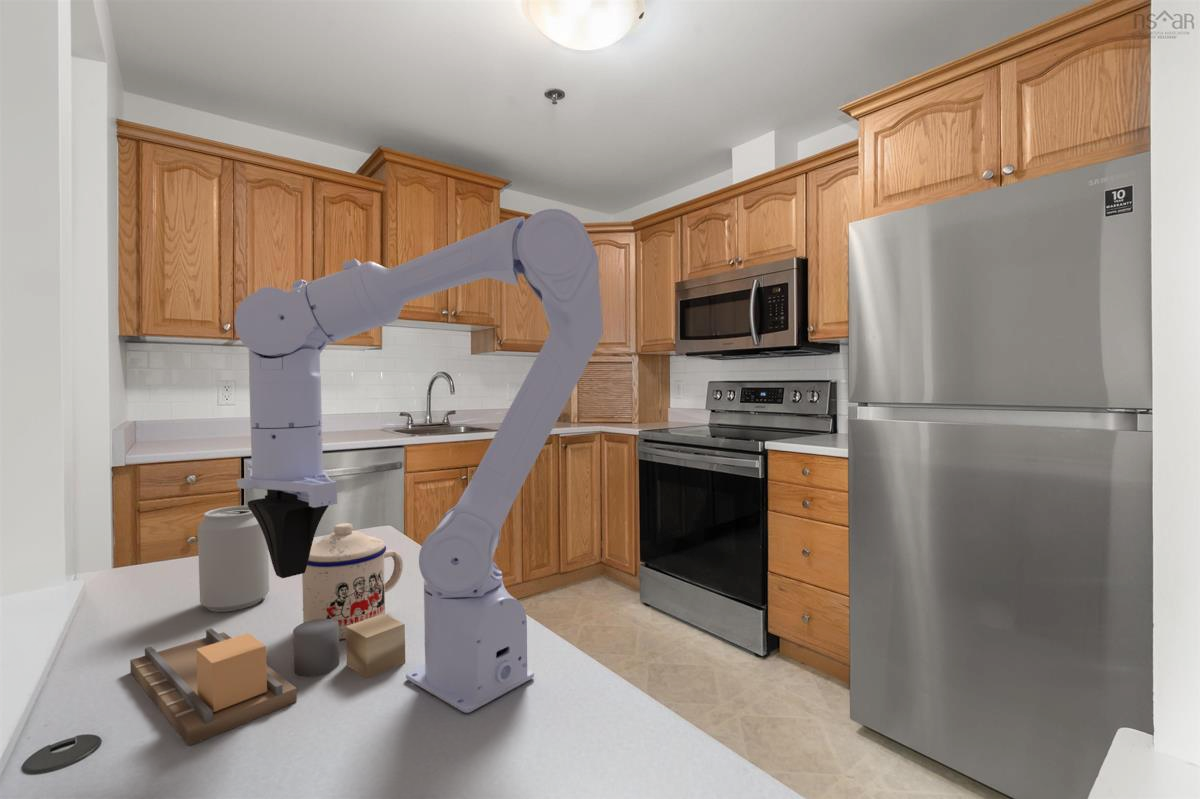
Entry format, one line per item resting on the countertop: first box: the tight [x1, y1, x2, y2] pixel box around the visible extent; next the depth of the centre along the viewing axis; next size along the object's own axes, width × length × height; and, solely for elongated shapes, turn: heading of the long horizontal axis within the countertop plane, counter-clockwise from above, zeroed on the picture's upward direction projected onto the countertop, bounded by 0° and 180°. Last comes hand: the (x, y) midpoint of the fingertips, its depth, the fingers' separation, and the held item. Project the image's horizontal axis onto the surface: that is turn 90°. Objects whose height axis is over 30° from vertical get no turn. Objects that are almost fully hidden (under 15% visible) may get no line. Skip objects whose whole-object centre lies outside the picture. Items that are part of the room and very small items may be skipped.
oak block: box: [345, 613, 406, 679], centre depth 58 cm, size 4×4×4 cm
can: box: [197, 505, 270, 613], centre depth 74 cm, size 8×8×12 cm
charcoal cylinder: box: [292, 619, 340, 678], centre depth 57 cm, size 4×4×4 cm
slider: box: [196, 632, 267, 712], centre depth 50 cm, size 4×4×4 cm
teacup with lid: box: [301, 522, 404, 640], centre depth 68 cm, size 12×9×12 cm
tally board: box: [129, 628, 298, 747], centre depth 54 cm, size 18×8×2 cm, turn 50°
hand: (290, 574), depth 53 cm, fingers closed
